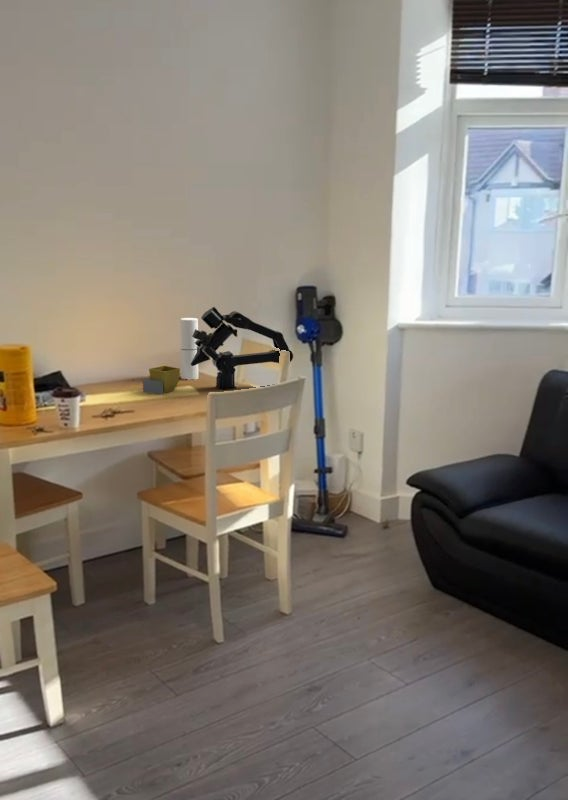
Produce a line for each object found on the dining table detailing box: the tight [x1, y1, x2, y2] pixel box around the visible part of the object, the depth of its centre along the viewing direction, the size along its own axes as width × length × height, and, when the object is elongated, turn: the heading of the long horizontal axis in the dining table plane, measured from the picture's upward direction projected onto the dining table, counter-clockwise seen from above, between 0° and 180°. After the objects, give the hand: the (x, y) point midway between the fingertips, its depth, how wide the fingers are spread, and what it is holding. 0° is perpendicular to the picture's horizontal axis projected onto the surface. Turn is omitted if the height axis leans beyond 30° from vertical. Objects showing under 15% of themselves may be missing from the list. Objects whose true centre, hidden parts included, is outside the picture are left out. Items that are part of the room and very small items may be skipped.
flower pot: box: [148, 365, 181, 393], centre depth 300 cm, size 9×9×9 cm
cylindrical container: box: [180, 317, 199, 381], centre depth 323 cm, size 7×7×25 cm
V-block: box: [142, 376, 164, 395], centre depth 299 cm, size 7×12×5 cm, turn 18°
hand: (191, 365), depth 302 cm, fingers closed
